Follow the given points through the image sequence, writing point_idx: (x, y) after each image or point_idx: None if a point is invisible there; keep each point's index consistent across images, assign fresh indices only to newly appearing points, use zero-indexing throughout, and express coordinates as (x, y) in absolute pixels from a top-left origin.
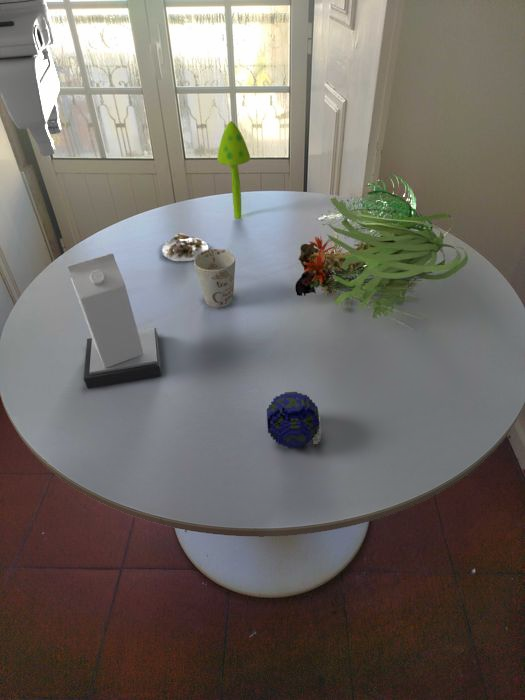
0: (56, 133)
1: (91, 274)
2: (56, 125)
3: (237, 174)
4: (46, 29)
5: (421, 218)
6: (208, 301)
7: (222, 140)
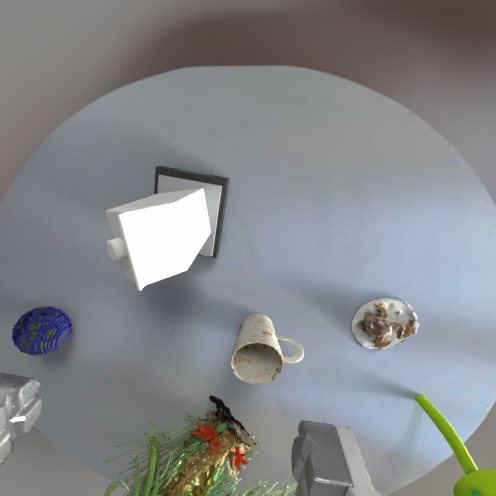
0: (296, 438)
1: (111, 244)
2: (299, 487)
3: (459, 461)
4: None
5: None
6: (248, 317)
7: None
